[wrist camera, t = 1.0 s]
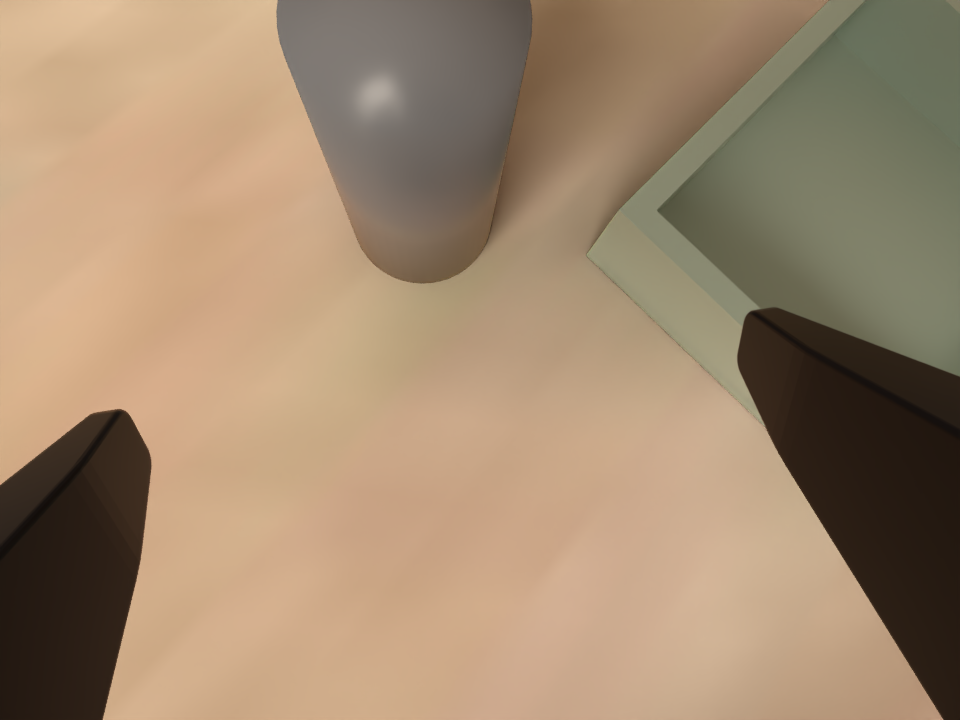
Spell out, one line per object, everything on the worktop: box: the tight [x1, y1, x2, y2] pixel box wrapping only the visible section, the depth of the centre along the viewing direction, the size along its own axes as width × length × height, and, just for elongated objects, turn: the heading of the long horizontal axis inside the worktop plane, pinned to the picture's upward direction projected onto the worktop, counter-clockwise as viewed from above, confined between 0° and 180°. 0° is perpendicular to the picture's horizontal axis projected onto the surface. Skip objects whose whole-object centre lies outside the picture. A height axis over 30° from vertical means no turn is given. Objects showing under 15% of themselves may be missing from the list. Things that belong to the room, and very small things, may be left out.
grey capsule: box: [277, 0, 532, 283], centre depth 18 cm, size 5×5×11 cm
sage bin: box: [586, 0, 960, 426], centre depth 22 cm, size 14×14×4 cm
